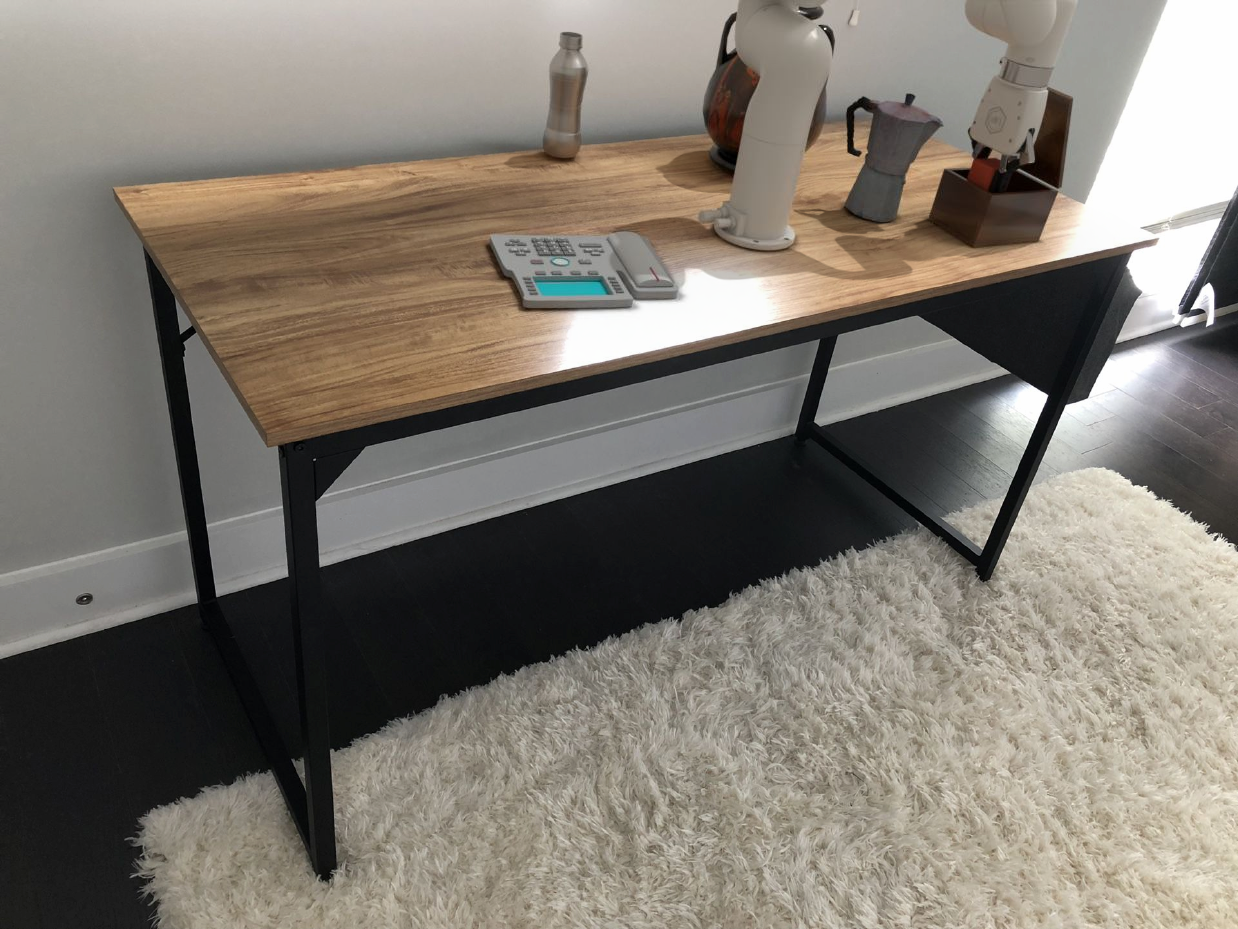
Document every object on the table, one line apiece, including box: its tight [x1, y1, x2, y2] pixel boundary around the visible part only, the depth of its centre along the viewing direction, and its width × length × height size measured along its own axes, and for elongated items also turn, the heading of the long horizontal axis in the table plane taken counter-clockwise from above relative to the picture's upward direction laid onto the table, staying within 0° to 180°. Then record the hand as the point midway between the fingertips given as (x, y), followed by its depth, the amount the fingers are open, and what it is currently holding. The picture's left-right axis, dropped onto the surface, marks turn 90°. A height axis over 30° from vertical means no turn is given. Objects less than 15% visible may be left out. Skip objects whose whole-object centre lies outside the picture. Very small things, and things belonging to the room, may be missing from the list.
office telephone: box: [489, 231, 679, 309], centre depth 133 cm, size 23×3×20 cm
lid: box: [1009, 85, 1074, 190], centre depth 158 cm, size 15×12×1 cm
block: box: [967, 158, 1010, 192], centre depth 159 cm, size 5×4×4 cm
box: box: [927, 166, 1059, 248], centre depth 163 cm, size 15×12×9 cm
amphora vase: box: [701, 5, 836, 176], centre depth 169 cm, size 22×22×28 cm
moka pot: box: [844, 93, 945, 223], centre depth 160 cm, size 10×15×20 cm, turn 78°
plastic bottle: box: [542, 31, 589, 159], centre depth 164 cm, size 6×7×20 cm
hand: (985, 187), depth 160 cm, fingers closed on block, 4 cm apart
